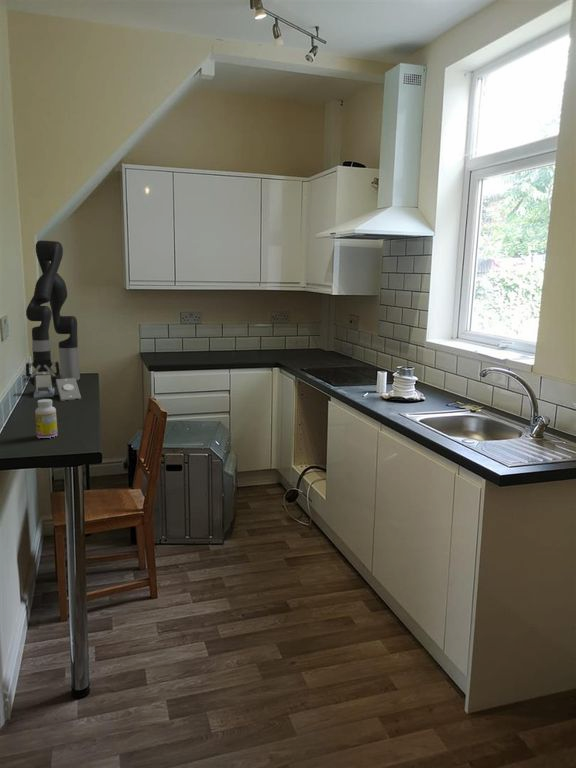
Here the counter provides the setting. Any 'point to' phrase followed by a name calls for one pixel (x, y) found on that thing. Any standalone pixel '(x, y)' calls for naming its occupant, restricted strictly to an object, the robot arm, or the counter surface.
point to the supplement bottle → (46, 419)
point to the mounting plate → (50, 394)
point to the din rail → (43, 390)
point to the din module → (43, 381)
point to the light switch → (68, 389)
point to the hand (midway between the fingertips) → (43, 384)
